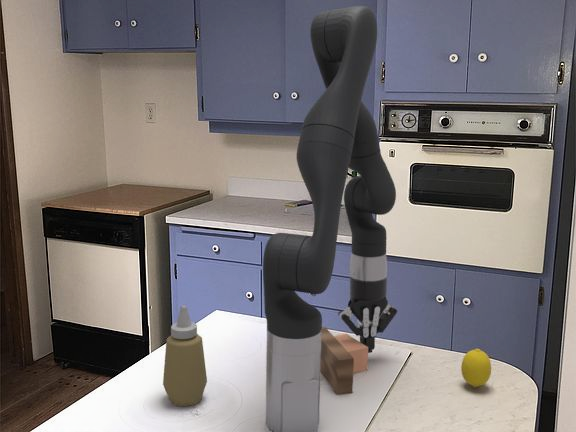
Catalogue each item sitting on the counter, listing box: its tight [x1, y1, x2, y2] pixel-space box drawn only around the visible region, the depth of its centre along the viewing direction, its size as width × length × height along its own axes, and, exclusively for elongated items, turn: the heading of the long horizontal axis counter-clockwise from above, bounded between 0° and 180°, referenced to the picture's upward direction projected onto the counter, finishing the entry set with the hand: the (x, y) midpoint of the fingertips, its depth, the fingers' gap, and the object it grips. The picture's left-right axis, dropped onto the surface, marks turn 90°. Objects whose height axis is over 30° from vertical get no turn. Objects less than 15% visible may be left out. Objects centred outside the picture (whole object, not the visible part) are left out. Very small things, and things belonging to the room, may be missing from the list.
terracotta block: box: [333, 333, 369, 374], centre depth 127 cm, size 8×5×5 cm, turn 29°
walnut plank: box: [320, 326, 354, 395], centre depth 122 cm, size 16×3×7 cm, turn 16°
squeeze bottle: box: [162, 305, 208, 407], centre depth 111 cm, size 8×8×18 cm
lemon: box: [460, 348, 492, 388], centre depth 118 cm, size 6×6×8 cm
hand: (367, 351), depth 129 cm, fingers closed
